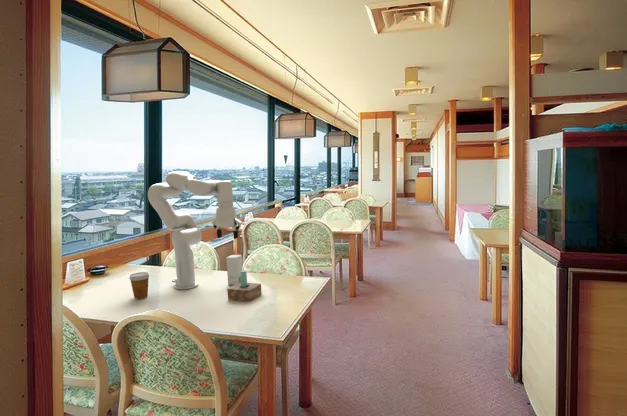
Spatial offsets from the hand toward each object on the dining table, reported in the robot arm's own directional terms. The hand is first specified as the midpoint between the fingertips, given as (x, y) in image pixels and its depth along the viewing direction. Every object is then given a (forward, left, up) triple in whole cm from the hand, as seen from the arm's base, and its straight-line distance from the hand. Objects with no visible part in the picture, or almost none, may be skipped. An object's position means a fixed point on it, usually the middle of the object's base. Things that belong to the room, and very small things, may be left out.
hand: (227, 238), depth 214 cm
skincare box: (-6, +14, -28) cm, 32 cm away
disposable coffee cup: (-41, -20, -28) cm, 54 cm away
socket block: (+12, -6, -28) cm, 31 cm away
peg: (+12, -6, -27) cm, 30 cm away
